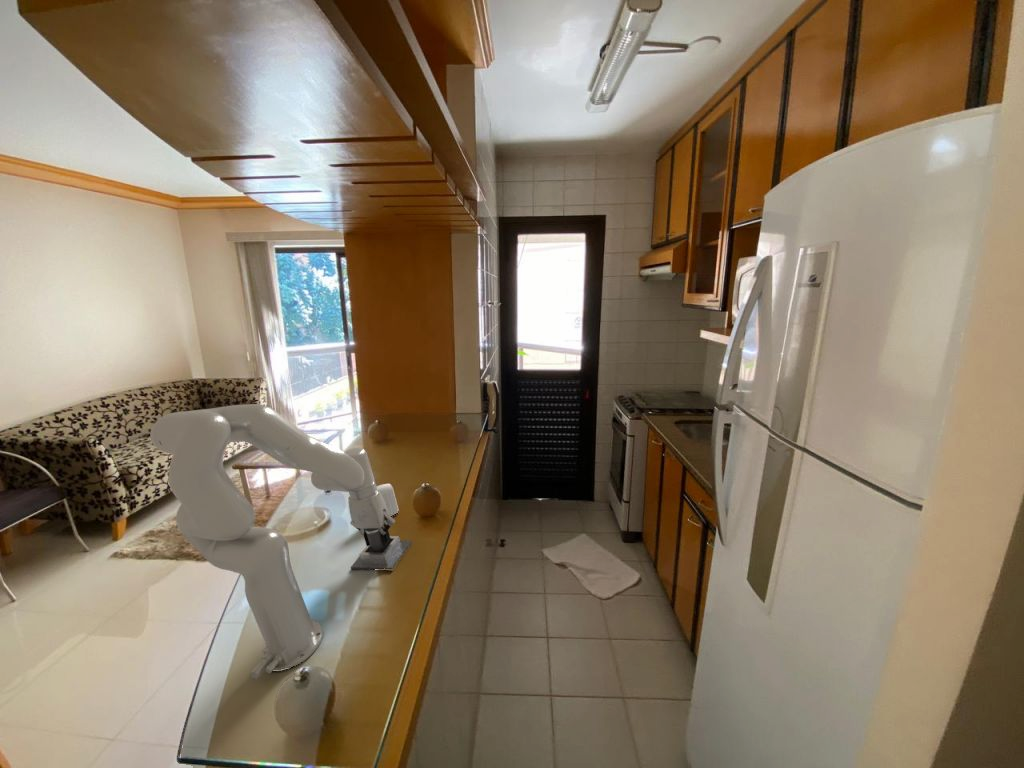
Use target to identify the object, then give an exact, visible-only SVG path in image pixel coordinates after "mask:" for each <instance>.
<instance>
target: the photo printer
mask: <svg viewBox="0 0 1024 768" xmlns="http://www.w3.org/2000/svg"><path fill="white" fill-rule="evenodd" d="M376 487H377V490H379V491H380V493H381V495H382V497H383V499H384V501H385V504H386V507H387V510H388V513H389V515H390V516H392V515H394V514H396V513H398V511H399V506H398V502H397V498H396V495H395V491H394V487H393V486H392V484H390V483H385V484H384V483H383V484H380V485H376ZM399 512H400V511H399ZM398 514H399V513H398ZM396 515H397V514H396ZM394 516H395V515H394ZM392 517H393V516H392Z"/></svg>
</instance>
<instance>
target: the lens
mask: <svg viewBox="0 0 1024 768" xmlns="http://www.w3.org/2000/svg"><path fill="white" fill-rule="evenodd" d="M382 527H383V528H384V526H382ZM365 531H366V534H367V537H368V540H369V543H370V547H371V550H372V553H383V552H384V551H385V550H386V549H387V547H388V546H389V544H387V545H386V546H383V544H382V540H381V537H380V535H381V532H380V530H379V529H378V528H365Z"/></svg>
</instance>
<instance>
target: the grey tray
mask: <svg viewBox="0 0 1024 768" xmlns="http://www.w3.org/2000/svg"><path fill="white" fill-rule="evenodd" d="M411 543H412V544H413V540H400V536H398V535H390V541H389V543H388V544H389V546H388V547H387V549H386V550H385V551H384V552H383V553H372V550H371V547H370V545H369V546H367V545H365V547H364V548H363V549H362V551H361V552H360V553H359V556H358V558H357V559H356V560H355V561H354V563H352V565H351V566H350V570H351V571H370V570H375V569H384V568H385V569H393V568H394V566H395V565H396V563H397V562H398V561H399V559H400V558H401V557H402V555H403V554H404V553H405V551H406V550H407V549H408V547H409V546H410V545H411ZM411 546H412V545H411ZM411 546H410V547H411ZM410 547H409V548H410ZM408 550H409V549H408ZM408 550H407V551H408ZM405 554H406V553H405Z"/></svg>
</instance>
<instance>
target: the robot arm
mask: <svg viewBox="0 0 1024 768" xmlns="http://www.w3.org/2000/svg"><path fill="white" fill-rule="evenodd" d="M149 435H150V436H149V437H150V441H151V443H152V444H153V446H154V447H155V448H156V449H158V450H159V451H161V452H162V453H167V454H170V455H171V454H172V456H171V461H170V464H169V469H168V475H167V476H168V485H169V487H170V490H171V492H172V494H173V495H174V496H175V498H176V499H177V500H178V501H179V502H180V505H179V507H178V509H177V513H176V517H175V522H176V526H177V529H178V530H179V533H180V534H181V535H182V536H183V537H184V538H185V539H186V541H188V542H189V544H191V546H192V547H193V549H195V550H196V551H197V552H198V553H199V554H200V555H201V556H202V557H203V558H204V559H205V560H206V561H207V562H208V563H209V564H210V565H212V566H214V567H216V568H217V569H220V570H225V571H230V572H232V573H236V574H238V575H241V576H242V578H243V579H244V593H245V598H246V600H247V604H248V606H249V608H250V610H251V612H252V614H253V617H254V620H255V622H256V624H257V627H258V629H259V632H260V633H261V636H262V639H263V641H264V644H265V647H264V648H263V649H262V653H263V656H262V657H261V661H260V662H259V663H258V664H257V665H256V666H255V667H254V668H253V669H252V671H250V676H251V677H252V678H253V679H256V680H257V679H258V678H260V676H261V675H262V674H263V673H264V672H266V673H267V674H271V673H272V671H273V670H281V669H285V668H290V667H293V666H295V667H297V666H299V665H301V662H302V663H303V662H304V661H306V660H307V659H308V658H309V657H310V656H311V655H312V654H313V653H314V652H315V651H316V650H317V649H318V648H319V646H320V644H321V642H322V640H323V637H324V629H323V626H322V625H321V623H319V622H318V621H314V620H312V618H311V616H310V613H309V610H308V608H307V605H306V603H305V600H304V597H303V595H302V592H301V590H300V587H299V584H298V581H297V579H296V576H295V573H294V571H293V567H292V564H291V560H290V559H291V558H290V549H289V545H288V541H287V539H286V537H285V536H284V535H283V534H282V533H280V532H279V531H277V530H274V529H272V528H267V527H262V526H254V524H255V522H256V513H255V510H254V507H253V505H252V504H251V503H250V501H249V500H248V499H247V498H246V496H245V495H244V493H242V491H241V489H239V488H238V486H237V485H236V484H235V483H234V482H233V480H232V479H231V478H230V476H229V474H228V473H227V471H226V469H225V467H224V455H225V452H226V449H227V447H228V445H229V443H234V442H237V443H239V442H241V443H248V444H250V445H252V446H253V447H255V448H256V449H258V450H260V451H261V452H263V453H264V454H266V455H267V456H269V457H270V458H273V459H274V460H275V461H277V462H279V463H280V464H281V465H283V466H287V467H289V468H292V469H295V470H299V471H300V470H301V471H306V472H310V473H311V475H310V476H311V477H310V481H311V484H312V486H314V487H315V488H316V489H317V490H321V491H330V492H331V491H332V492H336V491H337V492H345V493H348V494H349V496H348V498H347V499H348V502H347V503H348V510H349V515H350V519H351V521H350V525H351V526H353V527H354V528H356V529H357V530H358V531H359V532H360V534H361V535H363V539H364V541H365V546H369V545H370V543H369V540H368V537H367V534H366V531H365V528H378V529H379V530H380V532H381V535H380V537H381V540H382V544H383V546H386V545H387V544H388V543H389V541H390V536H391V535H390V531H389V529H390V528H391V527H392V526H393V525H394V524H395V523H396V519H394V518H393V516H392V517H391V516H390V515H389V513H388V510H387V507H386V504H385V501H384V499H383V497H382V495H381V493H380V491H379V490H377V487H376V486H377V484H376V483H377V482H376V481H375V477H374V474H373V470H372V466H371V463H370V459H369V457H368V456H369V455H368V453H367V451H366V450H365V449H364V448H362V447H356V448H355V447H354V448H351V449H348V450H345V452H344V450H343V451H342V450H341V449H339V448H337V447H335V446H333V445H330V444H328V443H325V442H324V441H322V440H320V439H317V438H315V437H312V436H310V435H308V434H307V433H306V432H304V431H303V430H302V429H300V428H299V427H297V426H296V425H295V424H293V423H292V422H291V421H289V420H288V419H287V418H286V417H285V416H283V415H281V414H280V413H278V412H277V411H276V410H275V409H274V408H272V407H270V406H268V405H265V404H260V403H253V404H252V403H250V404H249V403H248V404H234V405H226V406H220V407H219V406H218V407H214V408H213V407H212V408H203V409H195V410H193V409H192V410H185V411H177V412H171V413H168V414H166V415H163V416H161V417H160V418H158V420H156V421H155V422H154V423H153V425H152V427H151V429H150V434H149ZM382 526H383V527H384V528H383V527H382ZM298 664H299V665H298ZM296 665H297V666H296ZM293 668H294V667H293Z"/></svg>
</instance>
